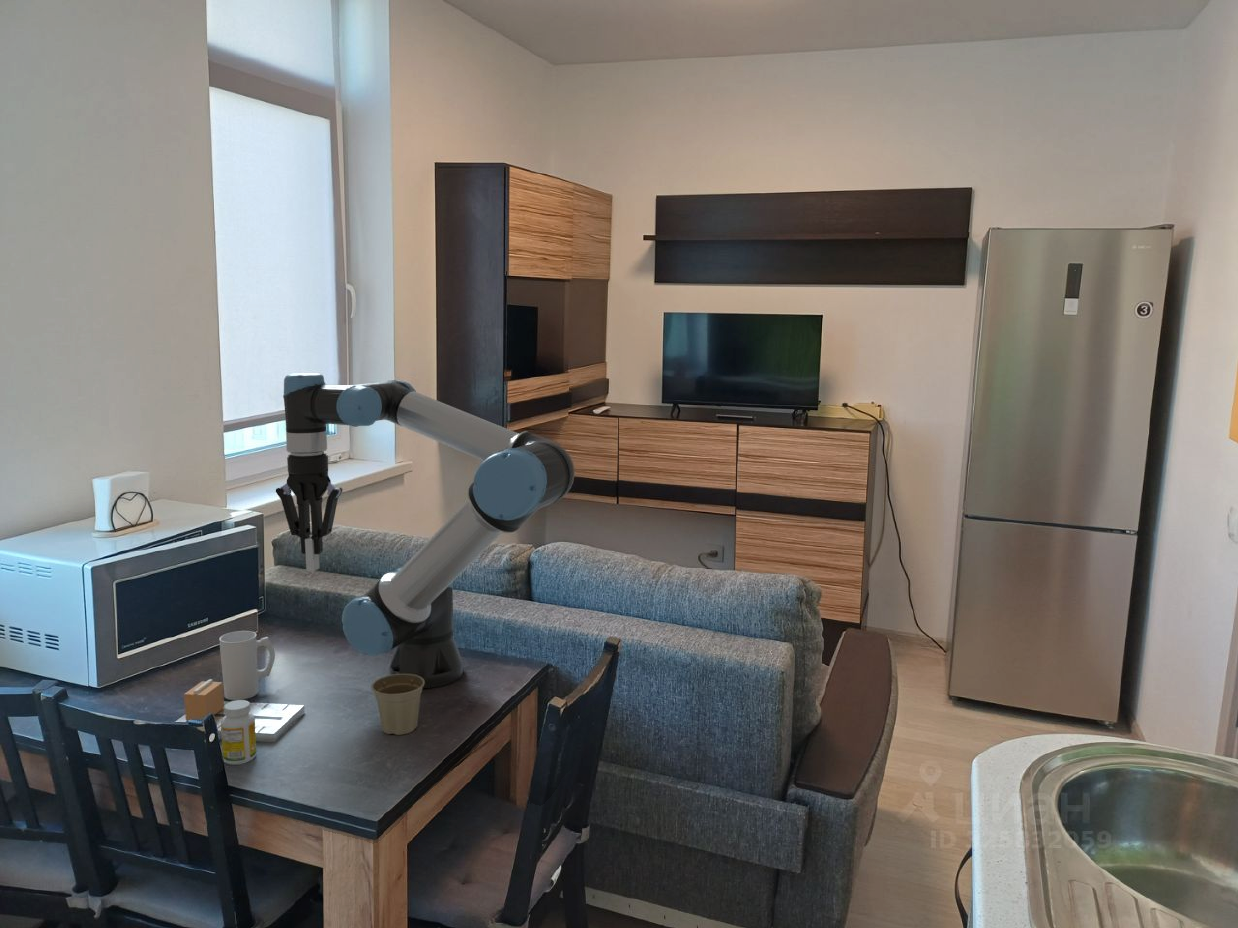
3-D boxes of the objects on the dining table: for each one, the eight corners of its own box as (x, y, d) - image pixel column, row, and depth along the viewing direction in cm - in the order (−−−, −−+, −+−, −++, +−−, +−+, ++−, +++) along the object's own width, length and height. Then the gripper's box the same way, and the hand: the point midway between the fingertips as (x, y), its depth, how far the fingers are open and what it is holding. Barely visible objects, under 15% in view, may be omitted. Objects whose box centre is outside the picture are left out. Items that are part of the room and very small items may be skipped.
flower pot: (399, 744, 161) (397, 698, 159) (361, 731, 166) (360, 686, 164) (436, 724, 168) (435, 680, 167) (399, 712, 173) (398, 669, 172)
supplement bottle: (232, 768, 152) (229, 714, 150) (217, 758, 155) (213, 705, 154) (263, 757, 156) (259, 703, 154) (247, 747, 159) (244, 695, 158)
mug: (225, 703, 177) (221, 644, 175) (220, 691, 183) (216, 634, 181) (280, 693, 182) (276, 635, 180) (273, 681, 188) (270, 625, 186)
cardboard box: (224, 707, 171) (222, 679, 170) (206, 721, 165) (204, 691, 164) (203, 706, 172) (201, 678, 171) (185, 720, 166) (183, 690, 165)
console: (304, 713, 173) (304, 704, 173) (274, 742, 161) (273, 733, 161) (204, 707, 175) (204, 699, 175) (167, 736, 163) (166, 727, 163)
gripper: (347, 450, 181) (351, 565, 185) (284, 449, 183) (290, 563, 187) (331, 456, 174) (336, 575, 178) (266, 454, 175) (272, 573, 179)
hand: (313, 569), depth 182 cm, fingers closed
